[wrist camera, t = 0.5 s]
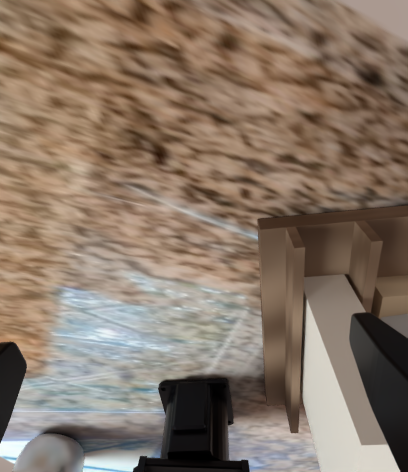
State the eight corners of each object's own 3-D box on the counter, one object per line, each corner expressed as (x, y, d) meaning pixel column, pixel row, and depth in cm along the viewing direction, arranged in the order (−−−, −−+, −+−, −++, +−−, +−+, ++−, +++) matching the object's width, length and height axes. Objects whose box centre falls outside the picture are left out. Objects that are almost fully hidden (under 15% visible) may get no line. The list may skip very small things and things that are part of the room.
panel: (333, 372, 27) (398, 547, 18) (296, 374, 27) (340, 548, 18) (344, 274, 22) (441, 442, 13) (298, 277, 23) (361, 445, 13)
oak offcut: (413, 363, 26) (427, 386, 25) (355, 367, 27) (365, 389, 25) (439, 272, 22) (458, 291, 20) (369, 278, 22) (382, 297, 21)
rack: (415, 382, 30) (442, 426, 26) (264, 390, 31) (271, 433, 27) (470, 199, 21) (520, 229, 18) (257, 219, 22) (265, 250, 19)
